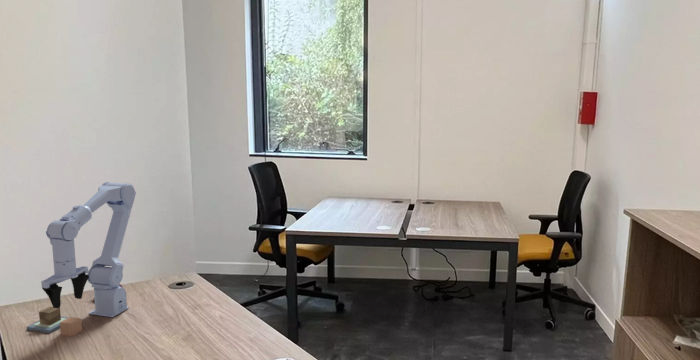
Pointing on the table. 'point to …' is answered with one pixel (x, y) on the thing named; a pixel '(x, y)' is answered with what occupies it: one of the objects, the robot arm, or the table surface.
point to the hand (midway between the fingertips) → (67, 302)
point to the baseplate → (45, 326)
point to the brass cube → (49, 315)
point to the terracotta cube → (70, 326)
